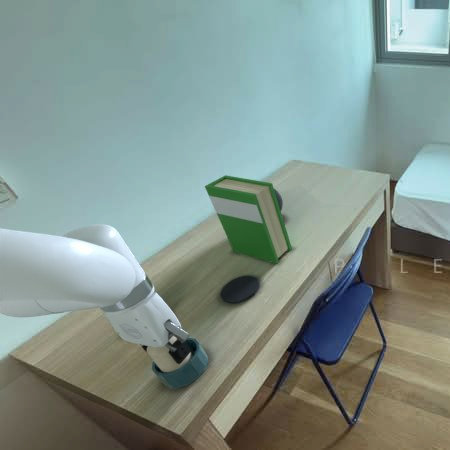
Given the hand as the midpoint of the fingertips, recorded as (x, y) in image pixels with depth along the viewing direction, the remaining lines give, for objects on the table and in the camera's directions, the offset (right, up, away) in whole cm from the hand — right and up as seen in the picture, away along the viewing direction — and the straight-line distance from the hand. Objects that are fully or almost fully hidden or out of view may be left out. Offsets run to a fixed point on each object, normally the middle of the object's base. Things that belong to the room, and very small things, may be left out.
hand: (171, 354), depth 63 cm
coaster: (+2, +8, +23) cm, 25 cm away
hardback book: (+2, +18, +38) cm, 42 cm away
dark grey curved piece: (-2, +27, +51) cm, 58 cm away
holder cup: (0, -5, +4) cm, 7 cm away
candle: (0, -4, +3) cm, 5 cm away
